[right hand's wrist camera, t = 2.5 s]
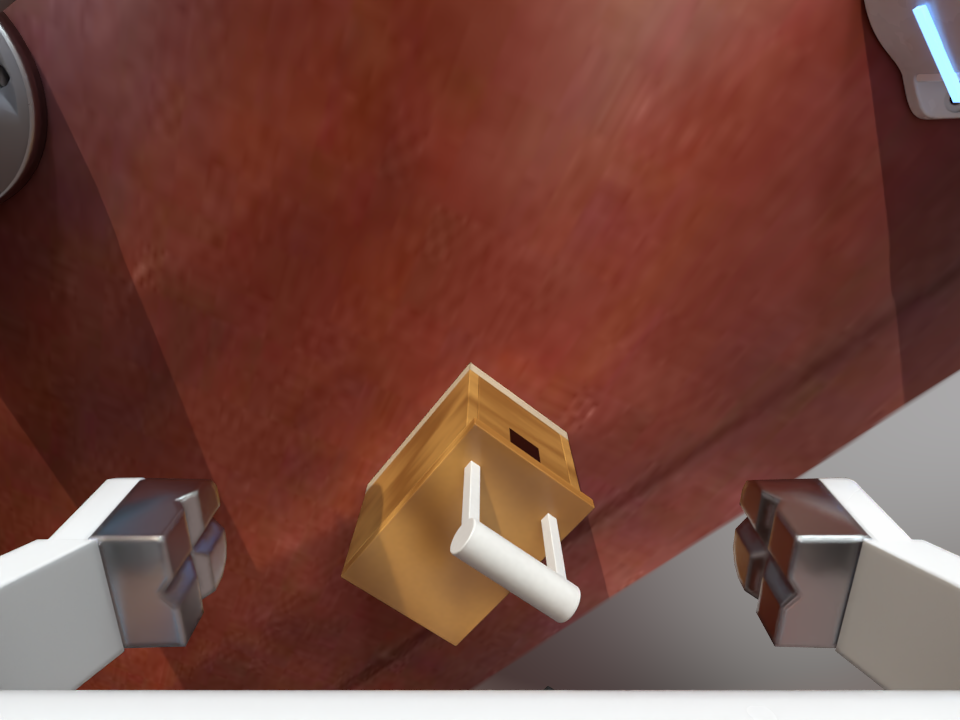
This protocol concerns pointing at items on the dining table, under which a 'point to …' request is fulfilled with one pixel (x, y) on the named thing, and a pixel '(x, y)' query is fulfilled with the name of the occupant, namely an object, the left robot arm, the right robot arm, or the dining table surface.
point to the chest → (443, 426)
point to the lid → (474, 538)
